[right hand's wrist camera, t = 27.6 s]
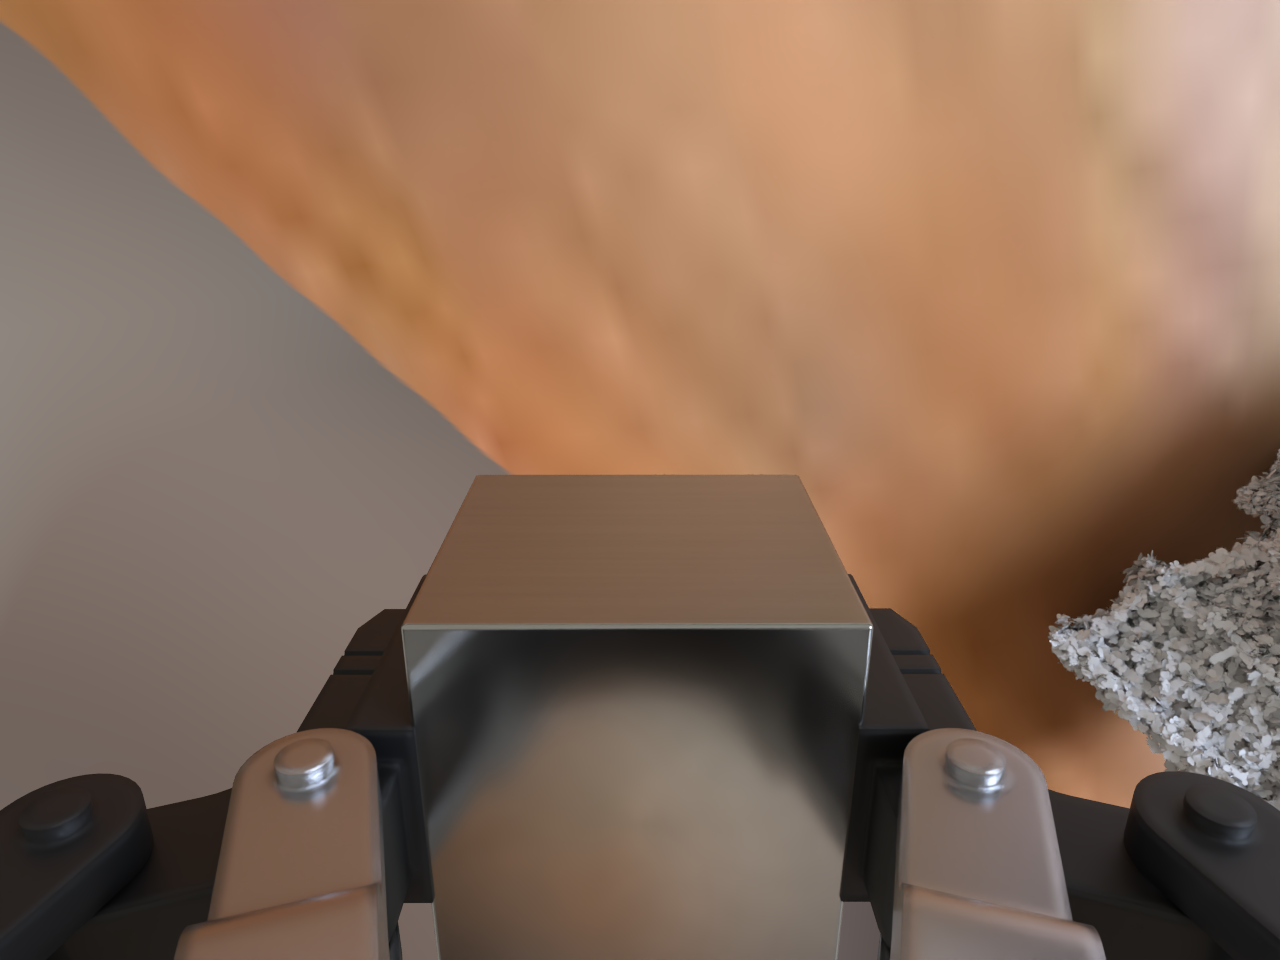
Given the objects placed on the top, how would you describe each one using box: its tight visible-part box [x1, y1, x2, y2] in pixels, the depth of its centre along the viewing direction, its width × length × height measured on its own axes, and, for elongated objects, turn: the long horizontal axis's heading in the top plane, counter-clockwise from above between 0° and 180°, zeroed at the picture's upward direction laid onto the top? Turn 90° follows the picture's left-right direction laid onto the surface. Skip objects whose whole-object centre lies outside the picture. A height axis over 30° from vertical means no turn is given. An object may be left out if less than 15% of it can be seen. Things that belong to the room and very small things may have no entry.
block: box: [401, 475, 874, 960], centre depth 11 cm, size 4×5×4 cm
